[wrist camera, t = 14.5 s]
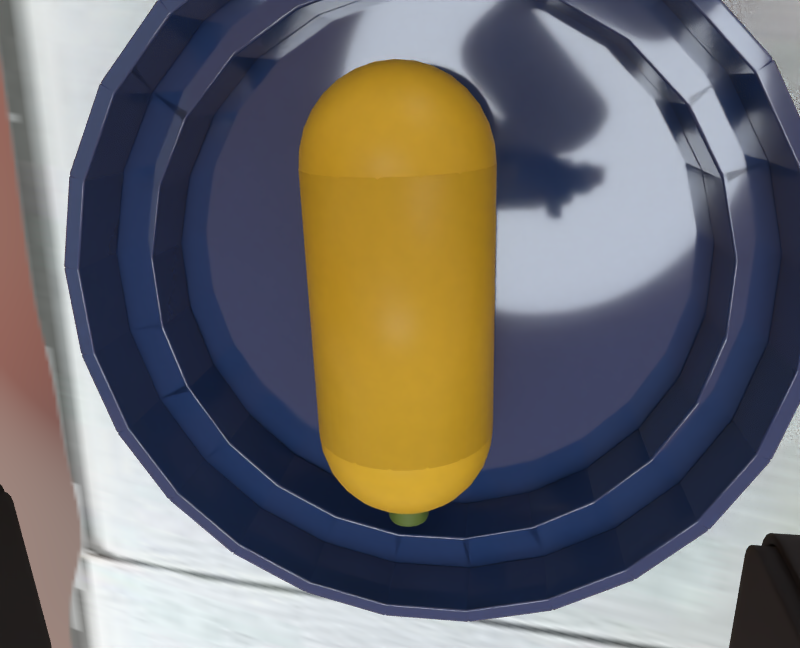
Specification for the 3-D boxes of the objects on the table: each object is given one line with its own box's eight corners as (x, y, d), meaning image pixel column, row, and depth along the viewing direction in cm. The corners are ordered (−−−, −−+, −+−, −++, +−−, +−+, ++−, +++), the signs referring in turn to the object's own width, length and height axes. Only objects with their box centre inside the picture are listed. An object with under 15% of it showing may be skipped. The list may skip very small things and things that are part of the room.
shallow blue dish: (97, -53, 23) (-7, -86, 18) (814, -99, 20) (911, -155, 15) (186, 515, 30) (128, 596, 25) (720, 547, 27) (766, 645, 22)
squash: (345, 63, 23) (248, 62, 18) (518, 56, 21) (464, 51, 16) (367, 461, 28) (296, 548, 23) (508, 487, 26) (464, 588, 21)
